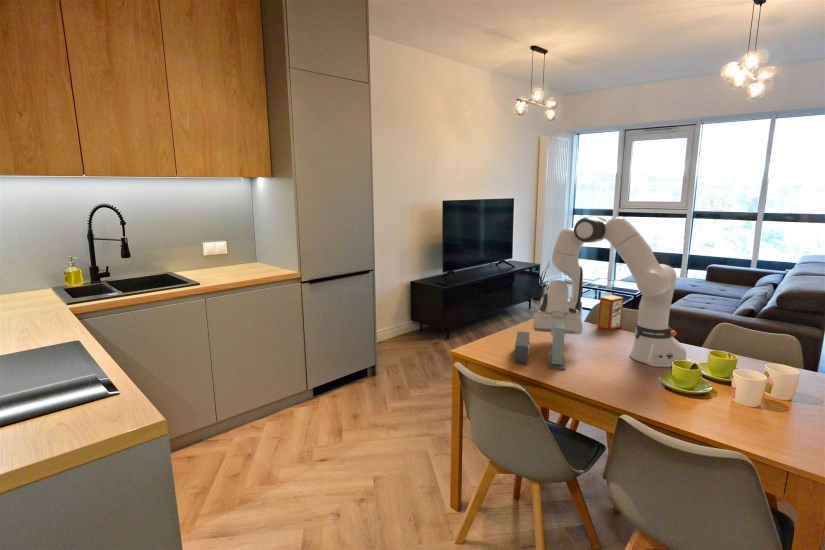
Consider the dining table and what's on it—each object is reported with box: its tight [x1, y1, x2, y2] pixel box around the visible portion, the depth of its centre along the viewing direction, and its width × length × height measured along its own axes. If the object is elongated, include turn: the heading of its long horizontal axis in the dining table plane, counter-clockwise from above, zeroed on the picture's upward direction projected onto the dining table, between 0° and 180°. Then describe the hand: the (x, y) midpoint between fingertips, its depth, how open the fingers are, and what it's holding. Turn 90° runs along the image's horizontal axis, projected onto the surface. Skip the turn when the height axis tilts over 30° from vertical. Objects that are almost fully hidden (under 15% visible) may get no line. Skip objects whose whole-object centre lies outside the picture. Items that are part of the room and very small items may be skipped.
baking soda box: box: [597, 294, 624, 331], centre depth 222 cm, size 10×6×16 cm
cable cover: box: [551, 321, 566, 365], centre depth 178 cm, size 4×10×15 cm, turn 164°
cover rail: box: [548, 353, 566, 371], centre depth 180 cm, size 6×14×1 cm, turn 164°
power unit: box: [514, 331, 531, 366], centre depth 186 cm, size 5×18×8 cm, turn 164°
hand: (557, 341), depth 186 cm, fingers closed
